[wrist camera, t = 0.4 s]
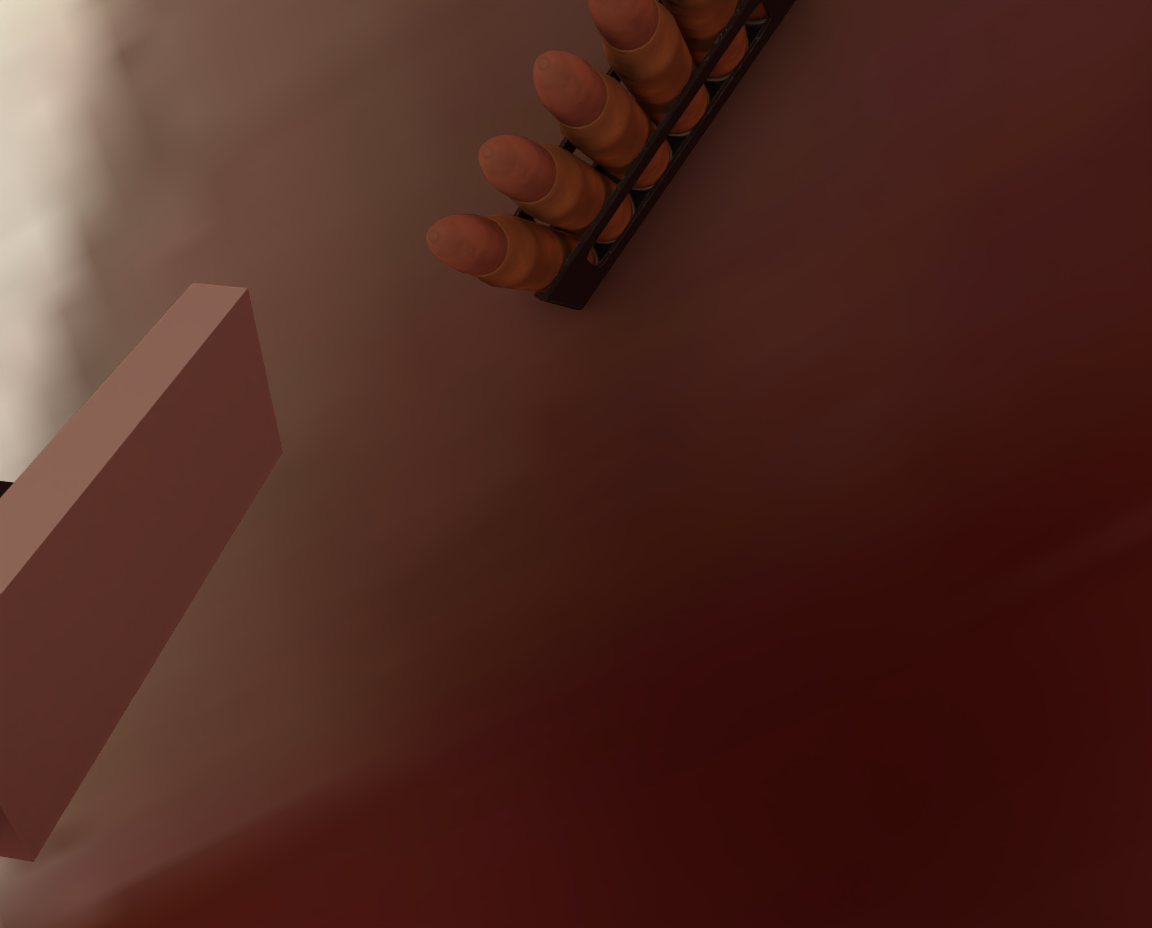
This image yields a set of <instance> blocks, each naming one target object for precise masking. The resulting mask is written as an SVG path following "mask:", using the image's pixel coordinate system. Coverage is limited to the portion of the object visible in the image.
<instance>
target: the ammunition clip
mask: <svg viewBox="0 0 1152 928" xmlns="http://www.w3.org/2000/svg"><path fill="white" fill-rule="evenodd" d="M795 1H796V0H588V3H589V9H590V12H591V15H592V18H593V20H594V22H595V25H596V27H597V29H598V30H599V33H600V35H601V37H602V40H603V49H604V53H605V55H606V57H607V59H608V62H609V64H610V66H611V68H610V69H609V71H608V72H607V74H604V73H602V72H599V71H598V70H597V69H595V68H593V67H592V66H591V65H590V64H589V63H588V62H587V61H585V60H583V59H581V58H580V57H578V56H576V55H573V54H571V53H569V52H565V51H548V52H545V53H543V54H542V55H540V56H539V57H538V58H537V60H536V61H535V63H534V68H533V78H534V85H535V88H536V91H537V93H538V95H539V98H540V99H541V101H542V103H543V105H544V106H545V107H546V108H547V109H548V111H549V112H550V113H551V114H552V115H553V117H554V118H555V119H556V120H557V123H558V125H559V127H560V129H561V132H562V134H563V135H564V136H565V138H564V139H563V141H562V142H561V144H560V145H559V146H556V145H548V144H540V143H537V142H534V141H531V140H529V139H527V138H525V137H521V136H516V135H500V136H497V137H494V138H491V139H488V140H487V141H486V142H484V143H483V145H482V146H481V148H480V151H479V163H480V166H481V168H482V170H483V172H484V174H485V176H486V178H487V179H488V180H489V181H490V182H491V183H492V184H493V185H494V186H495V187H496V188H497V189H498V190H499V191H500V192H501V193H503V194H505V195H507V196H509V197H510V198H511V199H512V200H514V201H515V202H516V204H517V205H518V206H519V208H518V209H517V211H516V212H515V214H514V215H507V214H494V215H491V216H479V215H472V214H455V215H451V216H448V217H445V218H442V219H440V220H438V221H436V222H435V223H434V224H432V225H431V227H430V228H429V230H428V231H427V235H426V239H427V244H428V246H429V248H430V250H431V251H432V253H433V254H434V255H435V256H436V257H437V258H438V259H439V260H440V261H441V262H442V263H444V264H446V265H448V266H450V267H452V268H454V269H456V270H458V271H460V272H463V273H468V274H470V275H472V276H475V277H477V278H478V279H479V280H481V281H483V282H485V283H487V284H489V285H491V286H493V287H501V288H510V289H519V290H527V291H536V292H535V294H534V296H536V297H537V298H538V299H540V300H541V301H544V302H549V303H553V304H556V305H560V306H564V307H568V308H572V309H576V310H580V309H582V308H583V307H584V306H585V304H586V303H587V301H588V300H589V298H590V297H591V295H592V294H593V293H594V291H595V290H596V288H597V287H598V285H599V284H600V282H601V281H602V280H603V278H604V277H605V275H606V274H607V272H608V271H609V269H610V268H611V267H612V265H613V264H614V262H615V261H616V259H617V258H618V256H619V255H620V253H621V252H622V251H623V249H624V248H625V246H626V245H627V243H628V242H629V240H630V239H631V238H632V236H633V235H634V233H635V232H636V230H637V229H638V227H639V226H640V225H641V223H642V222H643V220H644V219H645V217H646V216H647V214H648V213H649V212H650V210H651V209H652V207H653V206H654V204H655V203H656V201H657V200H658V199H659V197H660V196H661V194H662V193H663V191H664V190H665V188H666V187H667V186H668V184H669V183H670V181H671V180H672V178H673V177H674V175H675V174H676V173H677V171H678V170H679V168H680V167H681V165H682V164H683V162H684V161H685V160H686V158H687V157H688V155H689V154H690V152H691V151H692V149H693V148H694V147H695V145H696V144H697V142H698V141H699V139H700V138H701V136H702V135H703V134H704V132H705V131H706V129H707V128H708V126H709V125H710V123H711V122H712V120H713V119H714V118H715V116H716V115H717V113H718V112H719V110H720V109H721V107H722V106H723V105H724V103H725V102H726V100H727V99H728V97H729V96H730V94H731V93H732V92H733V90H734V89H735V87H736V86H737V84H738V83H739V81H740V80H741V79H742V77H743V76H744V74H745V73H746V71H747V70H748V68H749V67H750V66H751V64H752V63H753V61H754V60H755V58H756V57H757V55H758V54H759V53H760V51H761V50H762V48H763V47H764V45H765V44H766V42H767V41H768V40H769V38H770V37H771V35H772V34H773V32H774V31H775V29H776V28H777V27H778V25H779V24H780V22H781V21H782V19H783V18H784V16H785V15H786V14H787V12H788V11H789V9H790V8H791V6H792V5H793V3H794V2H795ZM620 81H622V82H623V83H624V85H625V86H626V87H627V89H628V90H629V92H630V93H631V94H632V96H633V97H634V98H635V100H634V99H633V98H632V97H631V95H630V94H629V93H628V92H627V91H626V89H625V88H624V87H623V86H622V85H621V84H620ZM576 148H577V149H579V150H580V151H581V152H583V153H584V154H585V155H586V156H588V157H589V158H590V159H592V160H593V161H594V163H593V164H592V166H590V165H589V164H587V163H586V162H584V161H583V160H581V159H580V158H578V157H577V156H575V155H574V154H573V152H574V151H575V149H576ZM534 218H536V219H538V220H540V221H543V222H545V223H548V224H551V225H550V226H549V227H547V226H544V225H541V224H538V223H536V222H535V221H534ZM542 292H545V293H542Z"/></svg>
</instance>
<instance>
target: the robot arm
mask: <svg viewBox="0 0 1152 928" xmlns="http://www.w3.org/2000/svg"><path fill="white" fill-rule="evenodd" d="M282 452H283V451H282V447H281V442H280V437H279V433H278V428H277V423H276V419H275V414H274V409H273V404H272V400H271V395H270V390H269V386H268V381H267V376H266V372H265V367H264V362H263V357H262V353H261V348H260V343H259V339H258V334H257V329H256V325H255V320H254V315H253V311H252V306H251V301H250V296H249V292H248V288H241V287H231V286H220V285H210V284H199V283H192V284H191V285H190V286H189V288H188V289H187V290H186V291H185V292H184V293H183V294H182V295H181V297H180V298H179V299H178V300H177V301H176V302H175V303H174V304H173V305H172V307H171V308H170V309H169V310H168V311H167V312H166V313H165V314H164V316H163V317H162V318H161V319H160V320H159V321H158V322H157V323H156V324H155V326H154V327H153V328H152V329H151V330H150V331H149V332H148V333H147V335H146V336H145V337H144V338H143V339H142V340H141V341H140V342H139V343H138V345H137V346H136V347H135V348H134V349H133V350H132V351H131V352H130V354H129V355H128V356H127V357H126V358H125V359H124V360H123V361H122V362H121V364H120V365H119V366H118V367H117V368H116V369H115V370H114V371H113V373H112V374H111V375H110V376H109V377H108V378H107V379H106V380H105V381H104V383H103V384H102V385H101V386H100V387H99V388H98V389H97V390H96V392H95V393H94V394H93V395H92V396H91V397H90V398H89V399H88V400H87V402H86V403H85V404H84V405H83V406H82V407H81V408H80V409H79V411H78V412H77V413H76V414H75V415H74V416H73V417H72V418H71V419H70V421H69V422H68V423H67V424H66V425H65V426H64V427H63V428H62V430H61V431H60V432H59V433H58V434H57V435H56V436H55V437H54V439H53V440H52V441H51V442H50V443H49V444H48V445H47V446H46V447H45V449H44V450H43V451H42V452H41V453H40V454H39V455H38V456H37V458H36V459H35V460H34V461H33V462H32V463H31V464H30V465H29V466H28V468H27V469H26V470H25V471H24V472H23V473H22V474H21V475H20V477H19V478H18V479H17V480H16V481H15V482H14V483H13V482H5V481H0V856H3V857H9V858H15V859H21V860H27V861H33V862H34V860H35V858H36V857H37V855H38V853H39V852H40V850H41V848H42V847H43V845H44V843H45V842H46V840H47V839H48V837H49V835H50V834H51V832H52V830H53V829H54V827H55V825H56V824H57V822H58V820H59V819H60V817H61V815H62V814H63V812H64V811H65V809H66V807H67V806H68V804H69V802H70V801H71V799H72V797H73V796H74V794H75V792H76V791H77V789H78V788H79V786H80V784H81V783H82V781H83V779H84V778H85V776H86V774H87V773H88V771H89V769H90V768H91V766H92V764H93V763H94V761H95V760H96V758H97V756H98V755H99V753H100V751H101V750H102V748H103V746H104V745H105V743H106V741H107V740H108V738H109V737H110V735H111V733H112V732H113V730H114V728H115V727H116V725H117V723H118V722H119V720H120V718H121V717H122V715H123V713H124V712H125V710H126V709H127V707H128V705H129V704H130V702H131V700H132V699H133V697H134V695H135V694H136V692H137V690H138V689H139V687H140V686H141V684H142V682H143V681H144V679H145V677H146V676H147V674H148V672H149V671H150V669H151V667H152V666H153V664H154V663H155V661H156V659H157V658H158V656H159V654H160V653H161V651H162V649H163V648H164V646H165V644H166V643H167V641H168V639H169V638H170V636H171V635H172V633H173V631H174V630H175V628H176V626H177V625H178V623H179V621H180V620H181V618H182V616H183V615H184V613H185V612H186V610H187V608H188V607H189V605H190V603H191V602H192V600H193V598H194V597H195V595H196V593H197V592H198V590H199V588H200V587H201V585H202V584H203V582H204V580H205V579H206V577H207V575H208V574H209V572H210V570H211V569H212V567H213V565H214V564H215V562H216V561H217V559H218V557H219V556H220V554H221V552H222V551H223V549H224V547H225V546H226V544H227V542H228V541H229V539H230V537H231V536H232V534H233V533H234V531H235V529H236V528H237V526H238V524H239V523H240V521H241V519H242V518H243V516H244V514H245V513H246V511H247V510H248V508H249V506H250V505H251V503H252V501H253V500H254V498H255V496H256V495H257V493H258V491H259V490H260V488H261V487H262V485H263V483H264V482H265V480H266V478H267V477H268V475H269V473H270V472H271V470H272V468H273V467H274V465H275V463H276V462H277V460H278V459H279V457H280V455H281V454H282Z"/></svg>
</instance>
